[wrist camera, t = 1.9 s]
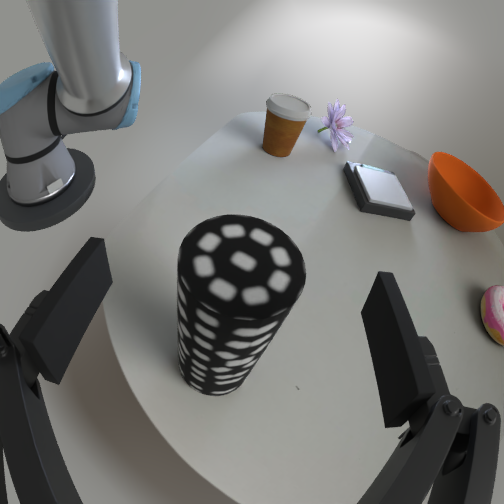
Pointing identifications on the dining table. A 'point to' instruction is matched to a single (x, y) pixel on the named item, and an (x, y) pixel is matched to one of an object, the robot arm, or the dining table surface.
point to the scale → (378, 191)
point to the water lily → (337, 125)
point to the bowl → (463, 195)
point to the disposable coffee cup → (284, 123)
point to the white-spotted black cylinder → (232, 298)
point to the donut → (494, 312)
